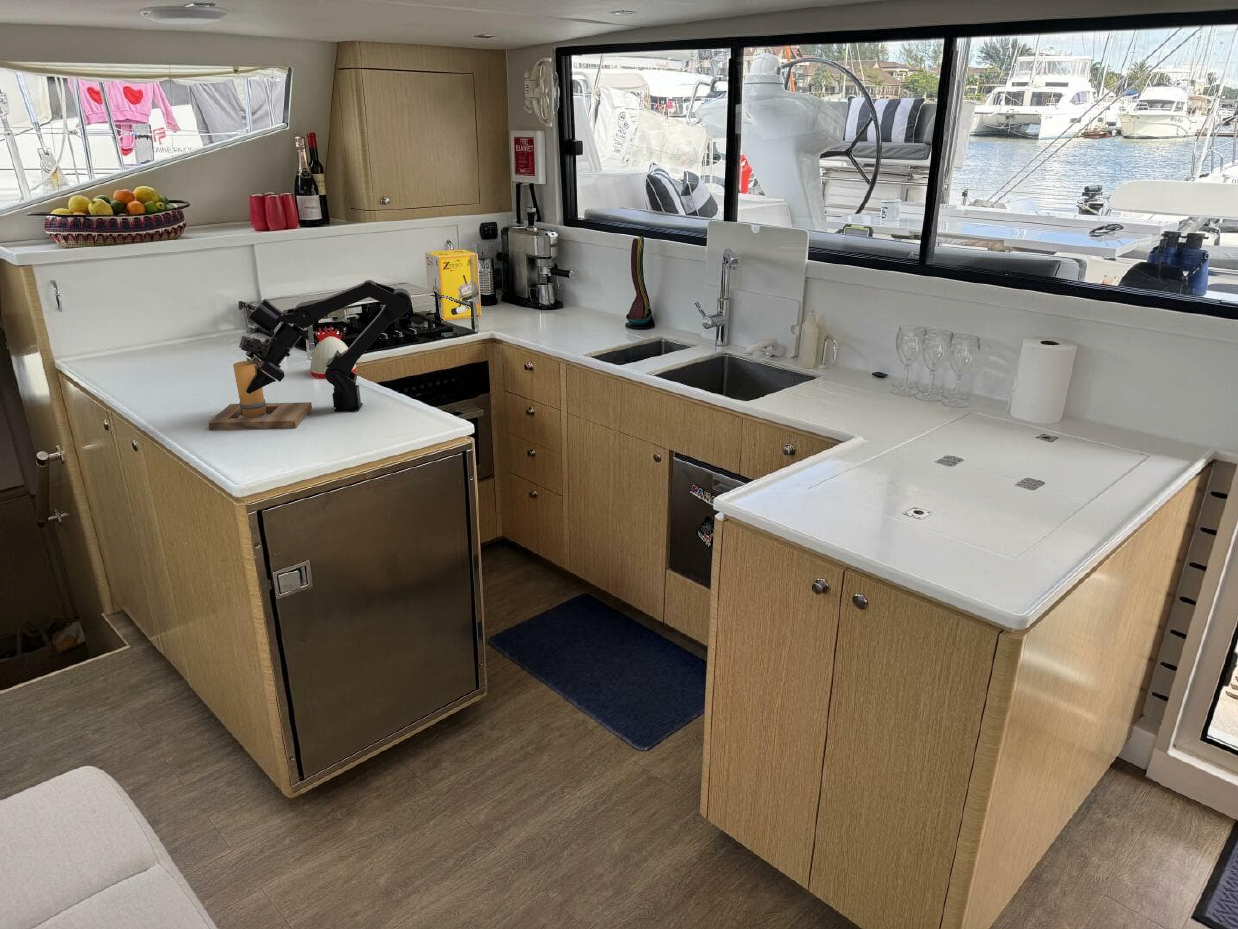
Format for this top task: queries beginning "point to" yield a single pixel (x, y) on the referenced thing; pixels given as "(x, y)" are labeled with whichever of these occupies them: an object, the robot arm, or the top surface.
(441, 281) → the packaging box
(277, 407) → the wooden frame
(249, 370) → the orange round cylinder
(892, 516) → the top surface
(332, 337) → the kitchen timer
